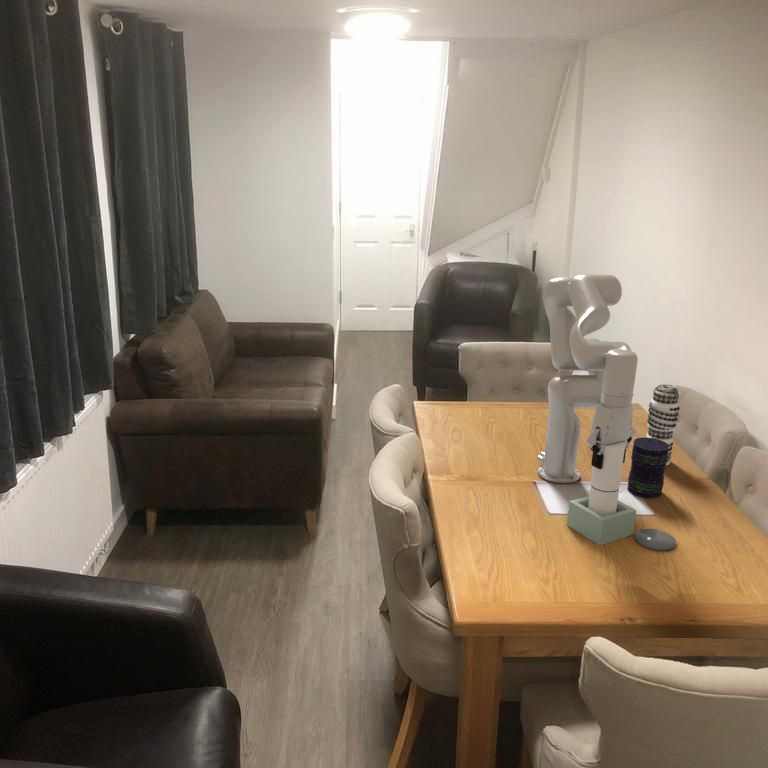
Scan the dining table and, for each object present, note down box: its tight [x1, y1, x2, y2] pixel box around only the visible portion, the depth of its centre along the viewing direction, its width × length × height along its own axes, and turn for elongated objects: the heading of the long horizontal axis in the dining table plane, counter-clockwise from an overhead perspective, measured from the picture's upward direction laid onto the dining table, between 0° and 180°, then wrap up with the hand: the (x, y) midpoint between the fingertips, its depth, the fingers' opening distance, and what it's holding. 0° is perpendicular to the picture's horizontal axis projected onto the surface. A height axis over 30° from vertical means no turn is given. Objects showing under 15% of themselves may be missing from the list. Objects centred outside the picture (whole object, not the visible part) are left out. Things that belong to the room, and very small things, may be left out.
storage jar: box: [626, 437, 669, 500], centre depth 227 cm, size 10×10×15 cm
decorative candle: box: [645, 383, 681, 467], centre depth 247 cm, size 9×9×25 cm
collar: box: [566, 495, 637, 546], centre depth 205 cm, size 12×12×7 cm
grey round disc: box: [634, 528, 677, 552], centre depth 201 cm, size 10×10×1 cm
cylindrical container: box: [588, 440, 625, 517], centre depth 202 cm, size 7×7×25 cm
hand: (607, 463), depth 200 cm, fingers closed on cylindrical container, 7 cm apart
